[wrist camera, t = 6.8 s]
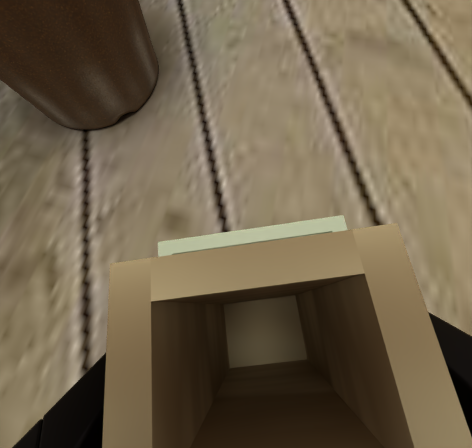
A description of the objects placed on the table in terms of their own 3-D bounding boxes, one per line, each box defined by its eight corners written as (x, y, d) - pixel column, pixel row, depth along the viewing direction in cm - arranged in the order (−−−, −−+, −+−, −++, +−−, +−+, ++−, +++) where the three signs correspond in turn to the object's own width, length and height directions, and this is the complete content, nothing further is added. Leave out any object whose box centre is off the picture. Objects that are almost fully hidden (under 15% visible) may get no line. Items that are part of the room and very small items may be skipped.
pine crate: (324, 371, 12) (521, 579, 3) (218, 383, 13) (94, 605, 3) (304, 279, 14) (397, 223, 5) (210, 291, 14) (110, 263, 5)
